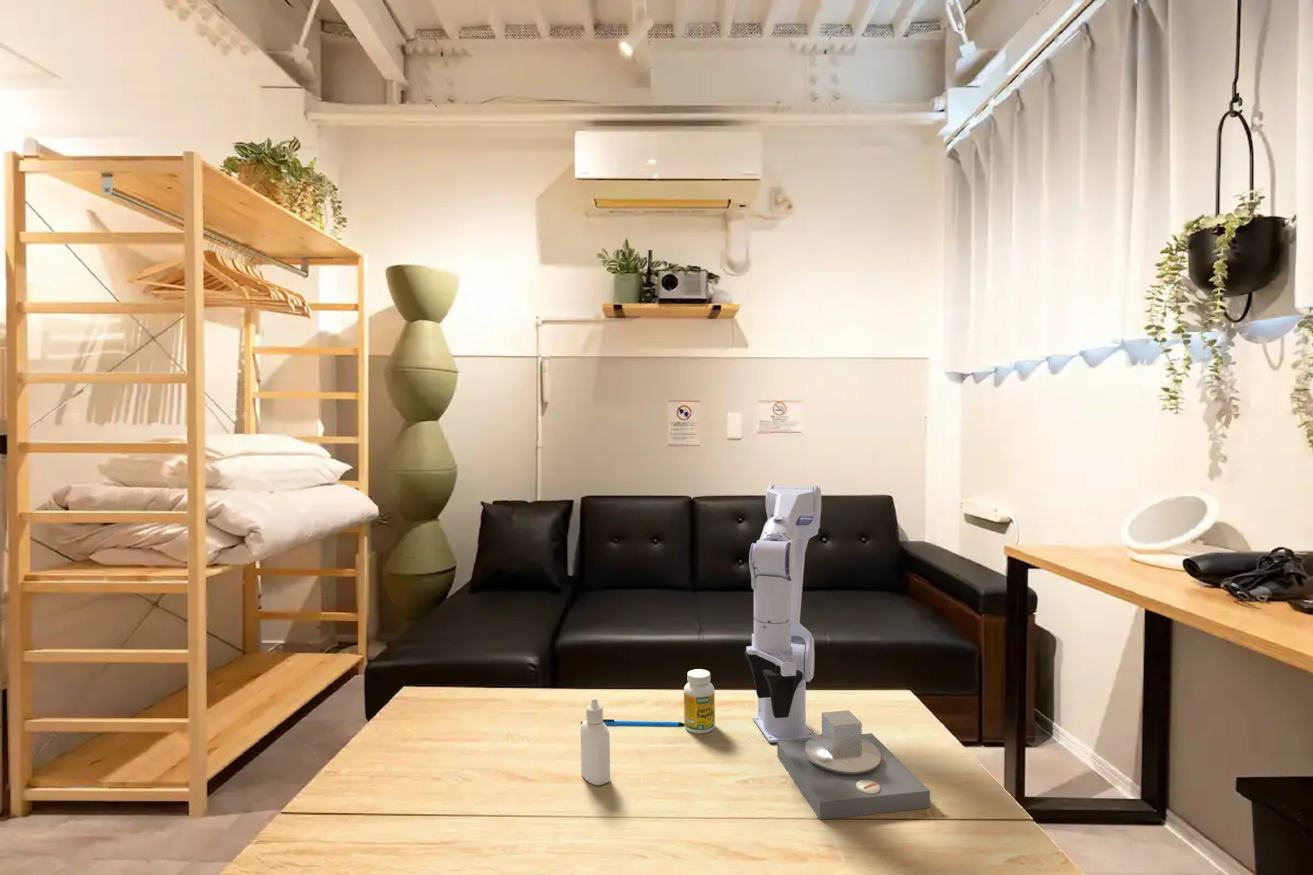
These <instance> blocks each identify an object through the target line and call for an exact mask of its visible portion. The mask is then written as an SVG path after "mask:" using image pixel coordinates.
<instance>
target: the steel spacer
mask: <svg viewBox="0 0 1313 875" xmlns="http://www.w3.org/2000/svg"><path fill="white" fill-rule="evenodd" d="M821 734H822V745H823V747H824V748H825V749H826V750H827V751H828V753H829V754H830V755H831V756H832V757H833V759H838V758H849V757H859V756H862V734H863V723H862V722H861V721H860V720H859V719H858V718H857V717H856V716H855V715H854V714H853V713H852V712H851V711H850V710H837V711H827V712H824V711H823V712H821Z"/></svg>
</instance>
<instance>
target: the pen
mask: <svg viewBox="0 0 1313 875" xmlns="http://www.w3.org/2000/svg"><path fill="white" fill-rule="evenodd" d="M582 722H583V721H580V725H581V724H582ZM603 722H604V723H605V725H606V726H611V727H612V726H613V727H615V726H617V727H618V726H621V727H622V726H627V727H628V726H629V727H631V726H632V727H673V728H674V727H678V728H679V727H685V724H684V722H680V721H648V720H647V721H645V720H644V721H640V720H615V719H608V718H607V719H605V718H603Z"/></svg>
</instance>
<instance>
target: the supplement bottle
mask: <svg viewBox="0 0 1313 875" xmlns="http://www.w3.org/2000/svg"><path fill="white" fill-rule="evenodd" d="M686 680H687V683H686V684H685V685H684V687H683V714H684V718H683V720H684V722H683V723H684V724H685V726H684V728H685V730H687V731H688V732H690V733H693V734H699V735H701V734H707V733H710V732H712V731H713V730H714V728H715V727H716V726H715V724H716V719H715V718H716V716H715V715H716V714H715V710H716V709H715V706H716V705H715V702H716V701H715V700H716V698H715V695H716V694H715V687H714V685H713V684H712V682H711V672H710V671H709V670H707V669H702V668H698V669H697V668H695V669H692V670H689V671H687V679H686Z"/></svg>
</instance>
